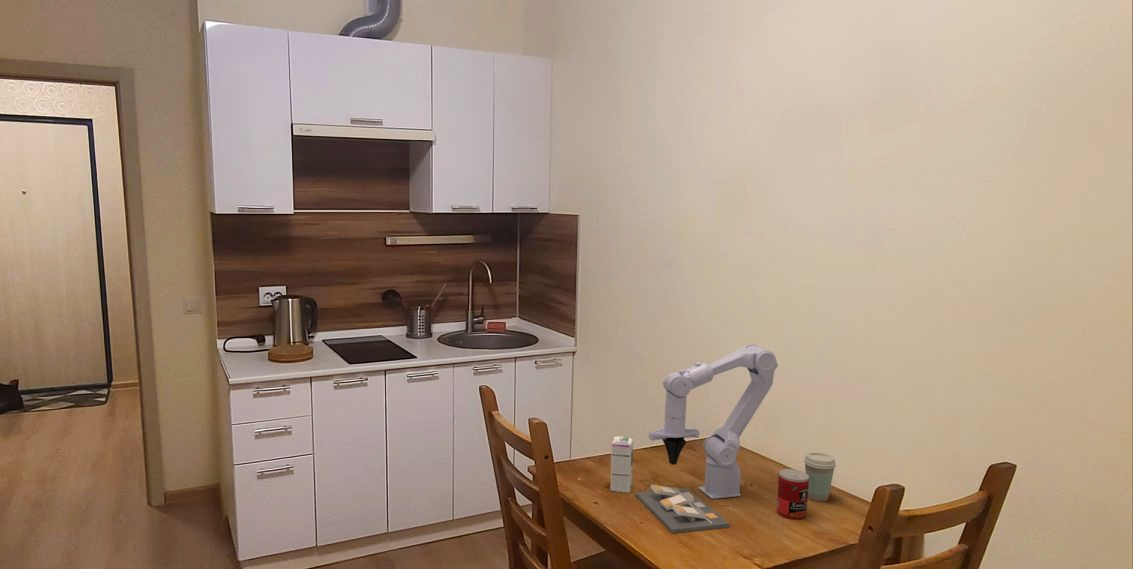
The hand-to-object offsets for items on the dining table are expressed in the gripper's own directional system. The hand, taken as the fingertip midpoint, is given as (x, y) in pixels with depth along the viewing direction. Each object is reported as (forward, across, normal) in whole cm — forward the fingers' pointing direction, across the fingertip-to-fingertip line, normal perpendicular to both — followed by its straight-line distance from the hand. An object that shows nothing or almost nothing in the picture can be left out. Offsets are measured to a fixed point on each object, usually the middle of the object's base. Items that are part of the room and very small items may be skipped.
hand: (672, 463), depth 203 cm
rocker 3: (+7, +3, +17) cm, 19 cm away
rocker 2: (+7, +3, +10) cm, 13 cm away
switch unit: (+9, +2, +10) cm, 14 cm away
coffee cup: (+10, -41, +10) cm, 43 cm away
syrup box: (+10, +12, -8) cm, 17 cm away
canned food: (+10, -27, +18) cm, 34 cm away
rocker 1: (+7, +3, +3) cm, 8 cm away
